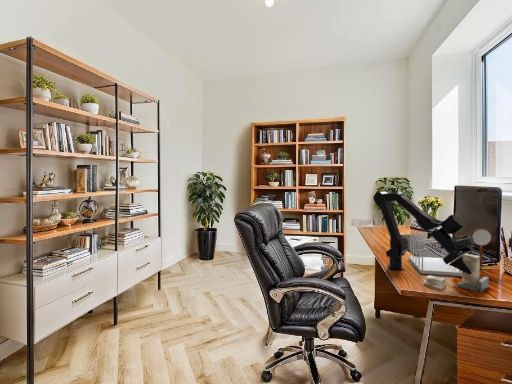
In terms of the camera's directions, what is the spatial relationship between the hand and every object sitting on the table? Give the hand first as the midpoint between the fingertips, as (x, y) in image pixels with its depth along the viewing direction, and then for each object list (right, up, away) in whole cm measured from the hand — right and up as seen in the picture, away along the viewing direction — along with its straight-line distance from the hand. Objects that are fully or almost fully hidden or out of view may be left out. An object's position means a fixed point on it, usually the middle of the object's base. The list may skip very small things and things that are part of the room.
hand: (474, 271), depth 124 cm
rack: (-1, -7, +2) cm, 7 cm away
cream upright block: (-1, -7, +2) cm, 7 cm away
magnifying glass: (+20, -5, +23) cm, 31 cm away
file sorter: (-1, -5, +27) cm, 28 cm away
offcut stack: (-15, -7, +3) cm, 16 cm away
